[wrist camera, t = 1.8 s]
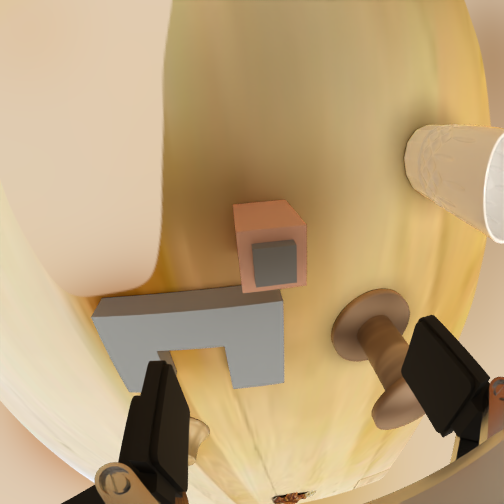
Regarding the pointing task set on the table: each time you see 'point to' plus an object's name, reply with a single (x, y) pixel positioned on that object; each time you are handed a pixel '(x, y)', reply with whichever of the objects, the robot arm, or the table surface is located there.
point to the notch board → (195, 331)
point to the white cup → (461, 172)
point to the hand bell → (194, 447)
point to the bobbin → (380, 351)
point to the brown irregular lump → (292, 498)
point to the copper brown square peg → (270, 246)
